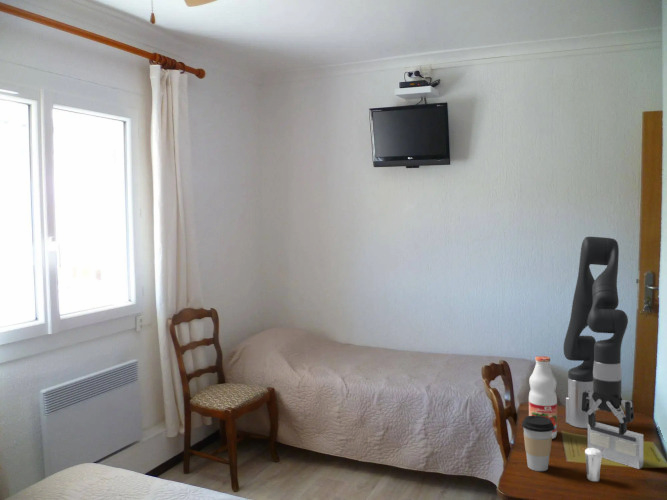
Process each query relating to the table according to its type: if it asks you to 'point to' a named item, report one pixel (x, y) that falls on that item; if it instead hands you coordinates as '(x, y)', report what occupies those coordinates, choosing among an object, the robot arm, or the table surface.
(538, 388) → the fruit juice
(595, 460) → the milkshake
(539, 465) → the coffee cup
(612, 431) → the panel
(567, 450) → the table surface
